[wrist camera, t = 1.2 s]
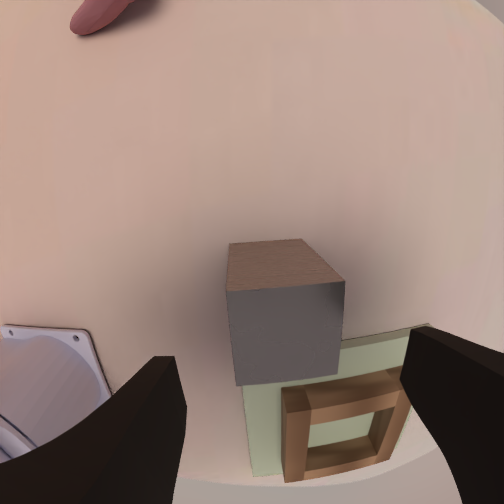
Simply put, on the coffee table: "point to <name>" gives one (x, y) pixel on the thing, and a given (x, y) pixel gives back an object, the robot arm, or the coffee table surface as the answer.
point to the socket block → (332, 413)
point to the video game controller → (96, 15)
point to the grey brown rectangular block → (283, 312)
